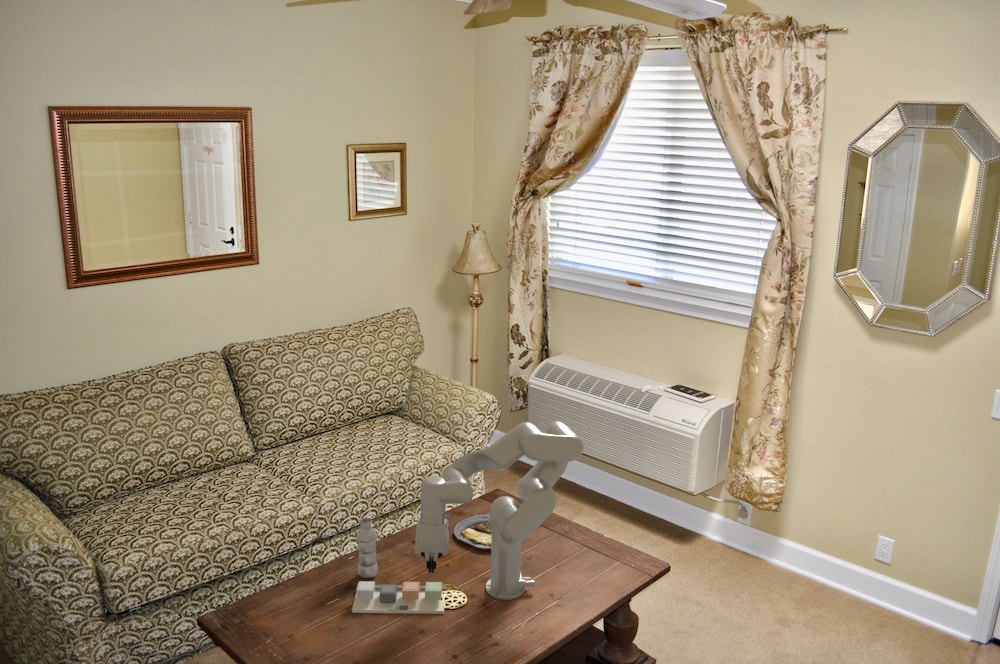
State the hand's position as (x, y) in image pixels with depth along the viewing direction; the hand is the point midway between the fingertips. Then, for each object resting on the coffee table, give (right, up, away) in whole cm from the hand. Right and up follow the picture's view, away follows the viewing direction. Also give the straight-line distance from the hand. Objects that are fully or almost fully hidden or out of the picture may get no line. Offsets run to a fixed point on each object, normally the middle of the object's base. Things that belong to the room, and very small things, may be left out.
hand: (431, 570), depth 258 cm
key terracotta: (-7, -8, +3) cm, 11 cm away
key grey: (-21, -8, +2) cm, 22 cm away
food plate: (+17, 0, +44) cm, 47 cm away
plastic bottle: (-22, -7, +17) cm, 29 cm away
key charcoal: (-14, -9, +3) cm, 17 cm away
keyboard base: (-10, -11, +3) cm, 15 cm away
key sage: (0, -9, +3) cm, 9 cm away
